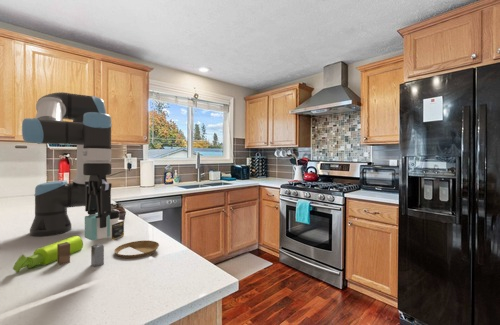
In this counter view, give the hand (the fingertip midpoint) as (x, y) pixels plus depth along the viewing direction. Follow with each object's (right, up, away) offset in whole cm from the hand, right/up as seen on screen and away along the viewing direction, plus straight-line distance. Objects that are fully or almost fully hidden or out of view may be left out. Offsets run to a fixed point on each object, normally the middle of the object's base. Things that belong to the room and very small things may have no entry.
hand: (97, 235), depth 77 cm
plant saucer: (+7, -10, +12) cm, 17 cm away
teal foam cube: (0, 0, 0) cm, 0 cm away
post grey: (0, -10, 0) cm, 10 cm away
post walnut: (-12, -10, +1) cm, 16 cm away
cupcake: (-25, -9, +56) cm, 62 cm away
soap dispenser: (-16, -6, +13) cm, 22 cm away
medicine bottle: (-12, -10, +29) cm, 33 cm away
